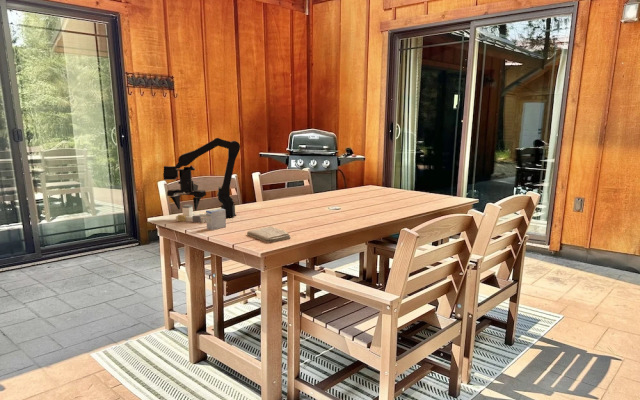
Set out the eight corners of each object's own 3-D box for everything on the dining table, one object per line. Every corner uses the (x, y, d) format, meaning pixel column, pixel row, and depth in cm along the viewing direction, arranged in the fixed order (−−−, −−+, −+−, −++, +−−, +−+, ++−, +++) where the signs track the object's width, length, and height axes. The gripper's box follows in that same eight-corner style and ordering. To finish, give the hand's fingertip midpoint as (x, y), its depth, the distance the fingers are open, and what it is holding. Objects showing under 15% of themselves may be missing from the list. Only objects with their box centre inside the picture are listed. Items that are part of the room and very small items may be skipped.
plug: (193, 218, 215) (192, 204, 213) (189, 219, 211) (188, 206, 210) (186, 217, 215) (186, 204, 214) (183, 219, 212) (182, 205, 211)
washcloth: (269, 244, 168) (269, 237, 168) (245, 236, 182) (245, 229, 181) (292, 239, 176) (292, 232, 175) (268, 231, 189) (268, 224, 189)
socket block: (213, 217, 216) (213, 211, 215) (202, 222, 204) (202, 216, 204) (187, 216, 219) (186, 210, 218) (174, 221, 208) (174, 215, 207)
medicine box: (220, 225, 198) (219, 207, 197) (226, 227, 195) (225, 209, 194) (206, 228, 192) (205, 210, 191) (212, 230, 189) (211, 211, 188)
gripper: (210, 177, 215) (211, 207, 218) (177, 176, 219) (179, 206, 222) (199, 180, 205) (201, 211, 207) (165, 179, 209) (167, 210, 211)
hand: (187, 209), depth 212 cm, fingers open, 9 cm apart
